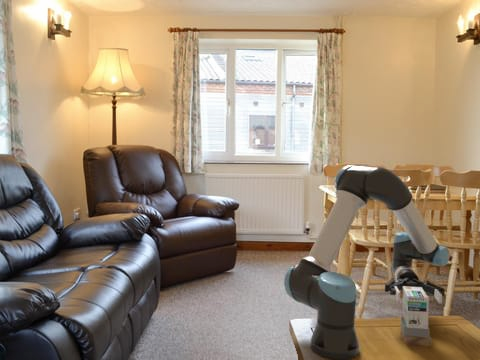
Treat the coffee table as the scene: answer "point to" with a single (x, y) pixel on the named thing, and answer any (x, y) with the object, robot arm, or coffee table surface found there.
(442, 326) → the coffee table surface
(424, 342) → the walnut base block
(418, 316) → the light bulb box
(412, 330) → the grey square tile
